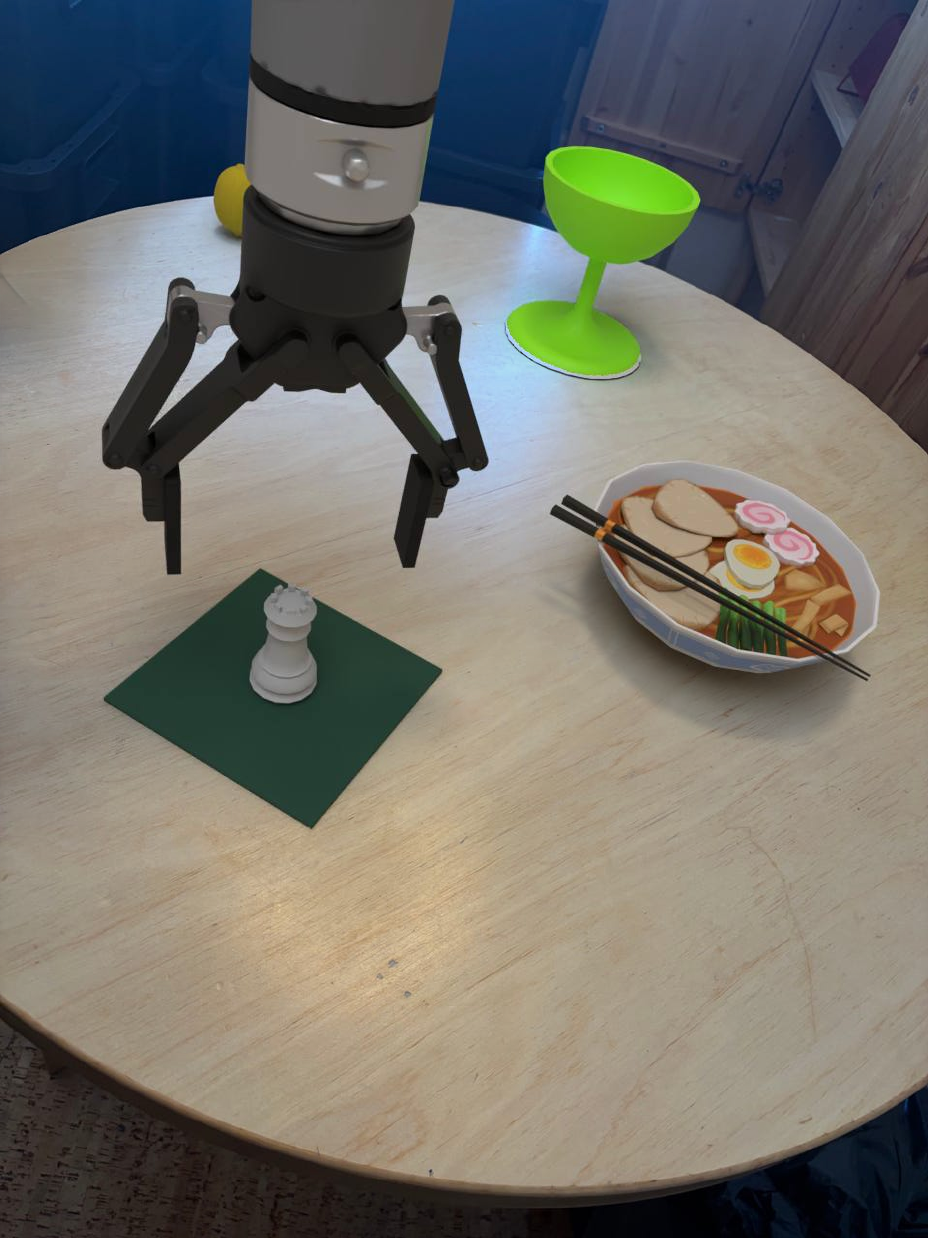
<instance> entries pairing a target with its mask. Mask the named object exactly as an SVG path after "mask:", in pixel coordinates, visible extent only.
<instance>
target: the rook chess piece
mask: <svg viewBox="0 0 928 1238" xmlns="http://www.w3.org/2000/svg"><path fill="white" fill-rule="evenodd" d="M287 583H288V588H287V589H283V587H282V586H281V585H279V586H277V587H276V588H275V590H274V593H271V595H270V596H269V597H268V598H267V600H266V601H265V602H264V612H265V614H266V616H267V617H268V619H267V622H266V627H267V629H268V631H269V634H268V637H267V641H266V644H265V645H264V646H263V647H262V649H260V650H259V651H258V653H257V654H256V656H255V657H254V659H253V661H252V668H251V670H250V682H251V685H252V687H253V689H254V690H255V691H256V692H257V693H258V694H259V695H260V696H262V697H263V698H264V699H266V700H269V701H271V702H274V703H280V704H289V703H293V702H297V701H300V700H302V699H303V698H305V697H306V696H308V695H309V694H311V693H312V691H313V689H314V687H315V686H316V681H317V665H316V662H315V660H314V658H313V656H312V654H311V653H310V651H309V649H308V648H307V635H308V634H309V632H310V630H311V623H310V622H311V621H312V620H313V619H314V617H315V616H316V614H317V606H316V604H315V603H314V601H313V599H312V597H313V596H312V595H310V589H308V588H307V587H305V586H302V587H301V588H300V589H299V590H297V589H298V588H297V583H291V582H287ZM296 588H297V589H296ZM300 590H301V591H300ZM308 595H310V596H308Z"/></svg>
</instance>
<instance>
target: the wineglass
mask: <svg viewBox="0 0 928 1238" xmlns="http://www.w3.org/2000/svg"><path fill="white" fill-rule="evenodd" d="M544 161H545V162H544V171H543V176H542V177H543V178H542V181H543V184H542V185H543V193H544V202H545V207H546V210H547V212H548V215H549V217H550V219H551V221H552V224H553V226H554V228H555V230H556V231H557V233H558V234H559V235H560V236H561V237H562V238H563V240H564V241H565V242H566V244H567V245H568V246H570V247H571V248H572V249H573V250H574V251H576V252H577V253H579V254H581V255H583V256H585V257H587V258H588V262H587V264H586V268H585V271H584V275H583V278H582V281H581V285H580V288H579V292H578V294H577V298H576V301H575V302H570V301H564V300H551V299H549V300H546V299H545V300H535V301H531V302H528V303H523V304H522V305H520V306H519V307H516V308H515V309H513V310H512V311H511V312H512V313H511V312H510V313H511V314H510V313H509V315H510V316H509V315H508V316H509V317H507V318H506V320H507V326H508V327H507V328H508V329H509V332H510V335H511V336H512V337H513V339H515V341H516V342H517V343H519V346H520V347H522V348H523V349H524V350H525V351H527V352H529V353H530V354H531V355H533V356H535V357H536V358H539V359H540V360H541V361H543V362H546V363H548V364H551V365H554V366H555V367H558V368H561V369H563V370H566V371H567V372H571V373H577V374H583V375H587V376H588V375H593V376H594V375H595V376H596V375H601V376H604V375H606V376H607V375H609V374H611V375H612V374H618V373H621V372H624V371H626V370H628V369H630V368H631V367H633V365H635V363H637V361H638V358H639V355H640V354H641V355H642V352H640V350H641V347H640V348H639V346H640V344H639V342H638V340H637V339H636V337H635V335H634V334H633V333H632V332H631V331H630V330H629V329H628V328H627V327H625V325H623V324H622V323H621V322H620V321H618V320H617V319H615V318H613V317H612V316H610V315H608V314H607V313H605V312H604V313H603V312H602V311H600V310H597V309H594V304H595V302H596V299H597V295H598V292H599V289H600V286H601V282H602V279H603V276H604V273H605V271H606V266H607V264H613V265H628V264H632V263H636V262H637V263H638V262H639V261H644V260H647V259H650V258H652V257H654V256H656V255H657V254H658V253H660V252H661V251H663V250H664V249H666V248H667V247H669V246H671V245H672V244H674V243H675V241H676V240H678V238H679V237H680V236H681V235H682V234H683V233H684V231H686V229H687V228H688V227H689V225H690V224H691V222H692V219H693V218H694V215H695V214H696V213H697V210H698V208H699V205H700V202H701V198H700V194H699V192H698V191H697V190H696V189H695V187H694V186H693V185H692V184H691V183H690V182H688V181H687V180H686V179H684V178H683V177H682V176H680V175H679V174H677V173H675V172H673V171H671V170H669V169H668V168H666V167H664V166H662V165H659V164H657V163H655V162H653V161H650V160H647V159H645V158H641V157H639V156H635V155H633V154H629V153H627V152H626V153H625V152H622V151H618V150H613V149H609V148H601V147H595V146H581V145H580V146H579V145H578V146H577V145H573V146H572V145H571V146H565V147H558V148H556V149H554V150H552V151H551V150H550V152H549V153H548V154H547V155H546V157H545V160H544ZM638 344H639V345H638Z"/></svg>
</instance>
